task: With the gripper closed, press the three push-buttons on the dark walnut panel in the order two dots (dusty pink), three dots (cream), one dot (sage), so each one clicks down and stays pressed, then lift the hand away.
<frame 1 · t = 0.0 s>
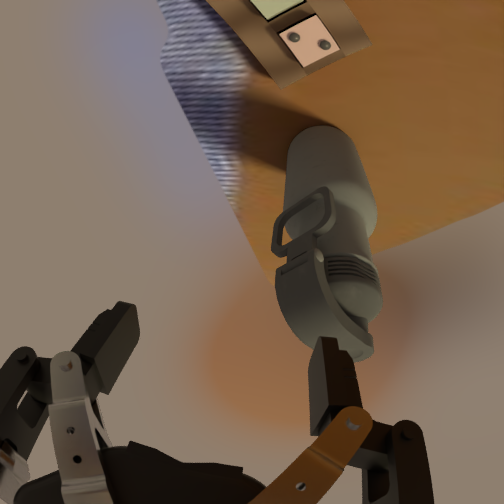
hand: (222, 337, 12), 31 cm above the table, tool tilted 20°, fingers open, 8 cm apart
button two dots: (309, 40, 23), point 5 cm above the table, slide at 0.0 cm
water bottle: (321, 153, 38), on the table
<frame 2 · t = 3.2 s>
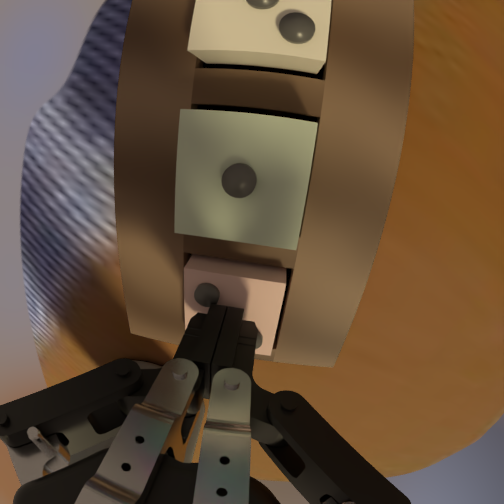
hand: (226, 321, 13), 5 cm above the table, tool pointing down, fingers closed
button two dots: (234, 302, 14), point 4 cm above the table, slide at 1.2 cm, touching gripper
button panel: (256, 157, 15), on the table
water bottle: (158, 388, 24), on the table
button three dots: (264, 8, 7), point 5 cm above the table, slide at 0.0 cm
button one dot: (244, 173, 10), point 5 cm above the table, slide at 0.0 cm
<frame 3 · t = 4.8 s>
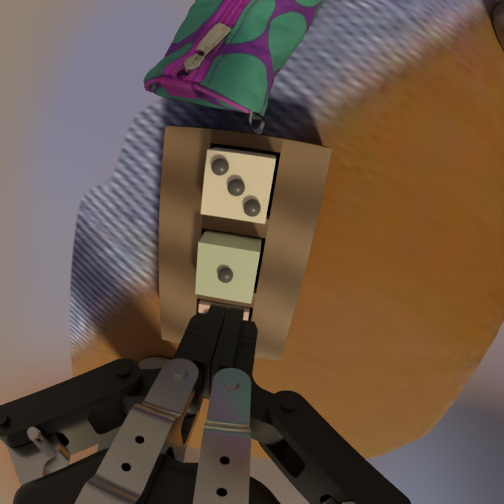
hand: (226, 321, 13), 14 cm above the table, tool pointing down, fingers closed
button two dots: (223, 320, 26), point 3 cm above the table, slide at 1.6 cm
button panel: (236, 242, 26), on the table
pencil case: (266, 15, 18), on the table
water bottle: (169, 376, 36), on the table
button three dots: (238, 183, 19), point 5 cm above the table, slide at 0.0 cm
button one dot: (227, 267, 22), point 5 cm above the table, slide at 0.0 cm
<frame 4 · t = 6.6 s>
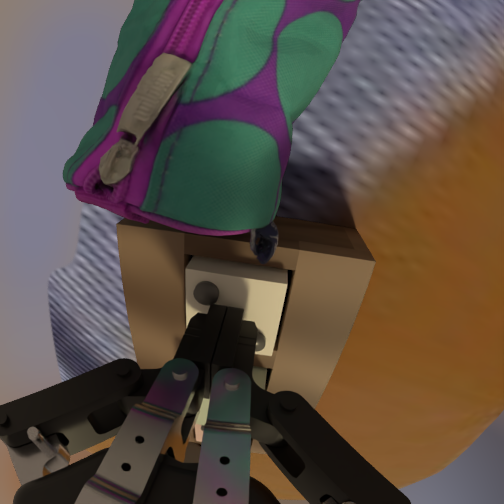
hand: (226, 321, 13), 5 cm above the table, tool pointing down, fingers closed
button two dots: (224, 424, 20), point 3 cm above the table, slide at 1.6 cm
button panel: (236, 345, 20), on the table
pencil case: (267, 16, 11), on the table
button three dots: (235, 303, 14), point 4 cm above the table, slide at 1.3 cm, touching gripper
button one dot: (224, 398, 16), point 5 cm above the table, slide at 0.0 cm
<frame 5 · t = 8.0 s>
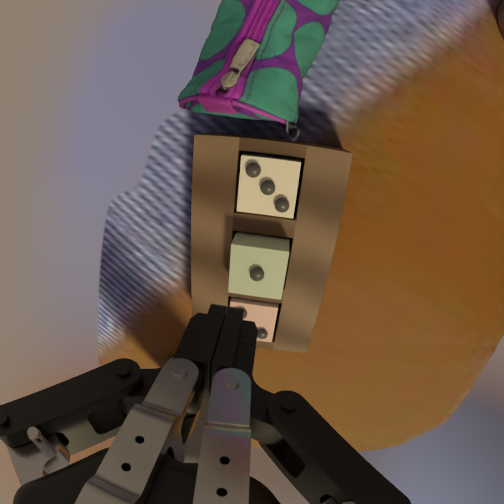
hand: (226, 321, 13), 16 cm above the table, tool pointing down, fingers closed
button two dots: (253, 316, 28), point 3 cm above the table, slide at 1.6 cm
button panel: (263, 242, 28), on the table
pencil case: (281, 22, 19), on the table
water bottle: (197, 372, 38), on the table
button three dots: (268, 184, 22), point 3 cm above the table, slide at 1.6 cm
button one dot: (258, 266, 24), point 5 cm above the table, slide at 0.0 cm
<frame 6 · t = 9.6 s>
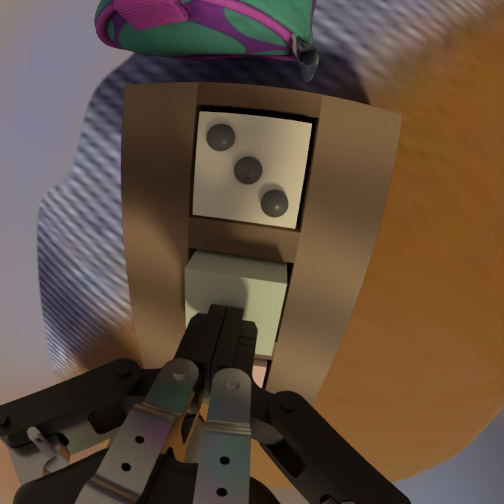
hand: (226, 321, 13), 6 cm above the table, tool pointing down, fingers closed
button two dots: (229, 371, 18), point 3 cm above the table, slide at 1.6 cm
button panel: (245, 262, 18), on the table
water bottle: (167, 415, 28), on the table
button three dots: (251, 165, 12), point 3 cm above the table, slide at 1.6 cm
button one dot: (234, 303, 14), point 4 cm above the table, slide at 0.6 cm, touching gripper
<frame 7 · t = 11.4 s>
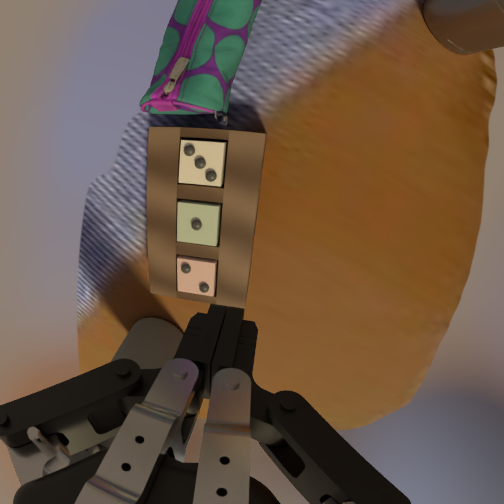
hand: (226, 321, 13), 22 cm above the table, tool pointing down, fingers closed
button two dots: (197, 273, 34), point 3 cm above the table, slide at 1.6 cm
button panel: (206, 212, 34), on the table
pencil case: (218, 37, 25), on the table
water bottle: (160, 337, 43), on the table
button three dots: (203, 161, 28), point 3 cm above the table, slide at 1.6 cm
button one dot: (199, 221, 31), point 3 cm above the table, slide at 1.6 cm
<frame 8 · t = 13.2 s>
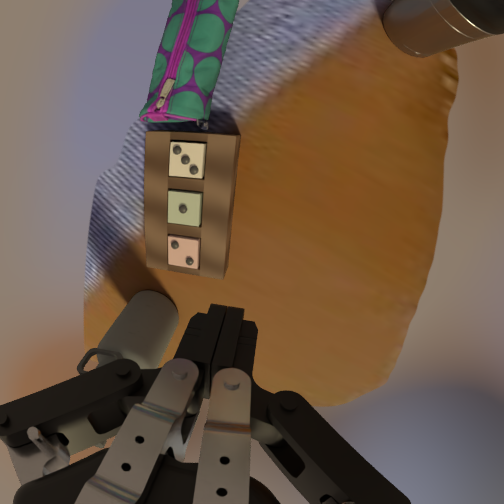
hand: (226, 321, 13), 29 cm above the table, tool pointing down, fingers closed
button two dots: (185, 249, 41), point 3 cm above the table, slide at 1.6 cm
button panel: (193, 200, 41), on the table
pencil case: (201, 55, 32), on the table
water bottle: (155, 308, 51), on the table
button three dots: (188, 158, 35), point 3 cm above the table, slide at 1.6 cm
button one dot: (186, 206, 38), point 3 cm above the table, slide at 1.6 cm
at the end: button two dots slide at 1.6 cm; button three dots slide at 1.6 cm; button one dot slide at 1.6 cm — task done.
